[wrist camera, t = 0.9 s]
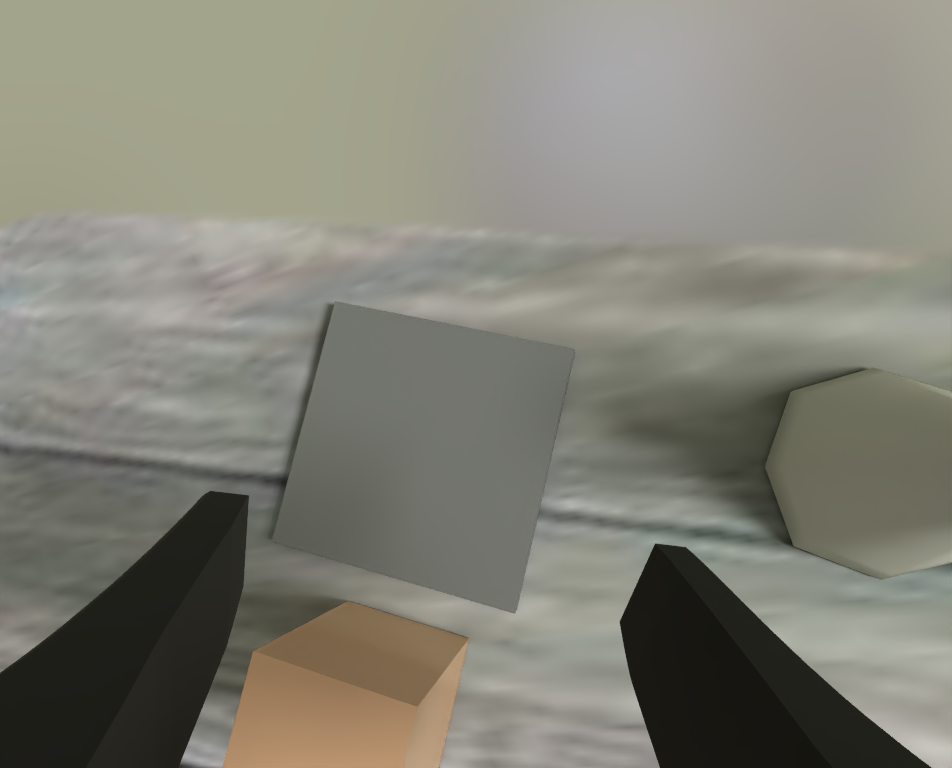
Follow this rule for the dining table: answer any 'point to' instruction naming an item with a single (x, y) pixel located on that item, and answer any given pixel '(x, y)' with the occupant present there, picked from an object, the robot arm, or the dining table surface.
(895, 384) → the flask
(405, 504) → the mat
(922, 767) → the robot arm
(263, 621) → the dining table surface
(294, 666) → the light orange block
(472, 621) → the dining table surface
